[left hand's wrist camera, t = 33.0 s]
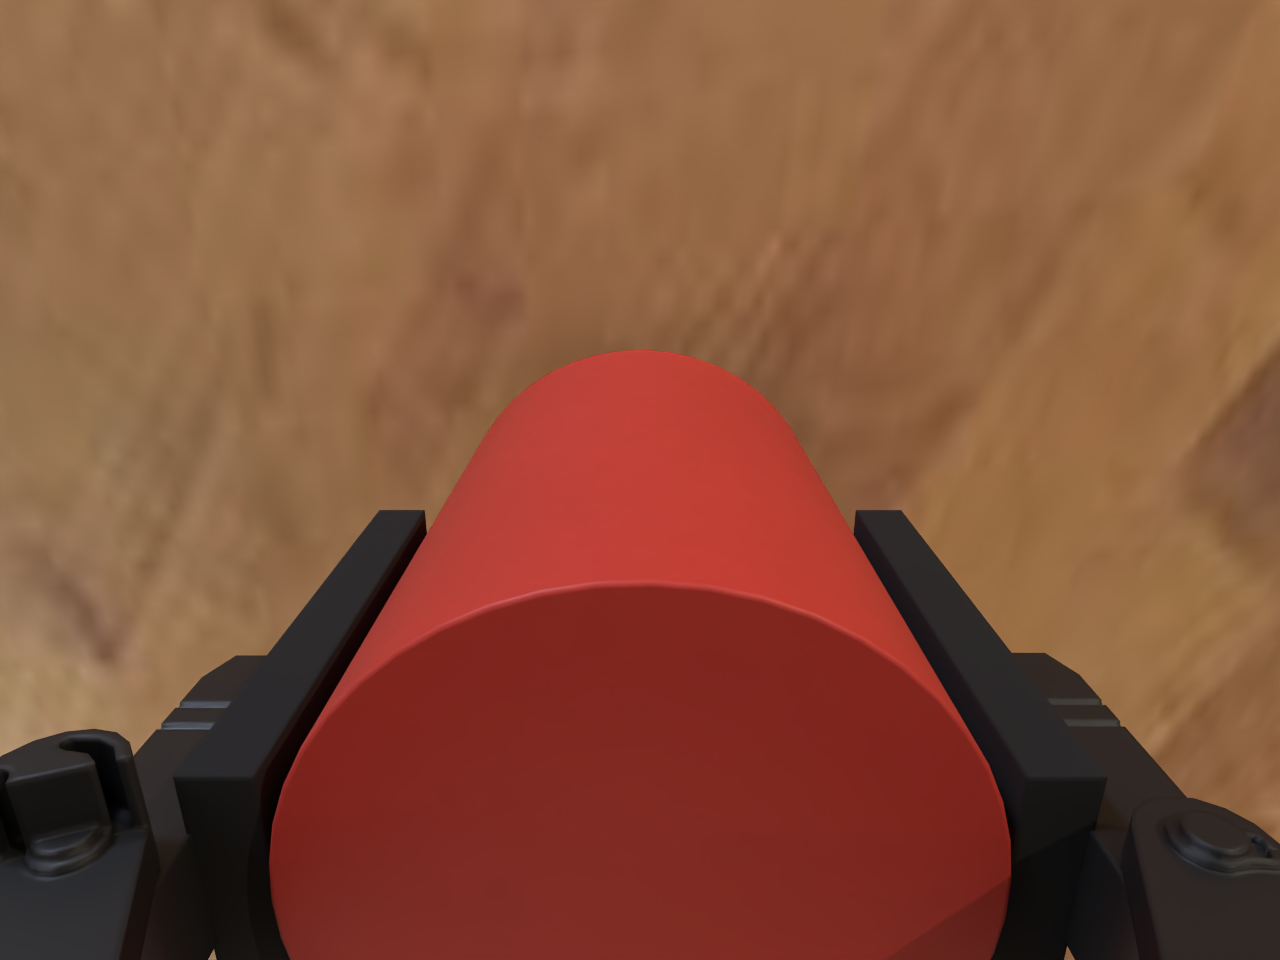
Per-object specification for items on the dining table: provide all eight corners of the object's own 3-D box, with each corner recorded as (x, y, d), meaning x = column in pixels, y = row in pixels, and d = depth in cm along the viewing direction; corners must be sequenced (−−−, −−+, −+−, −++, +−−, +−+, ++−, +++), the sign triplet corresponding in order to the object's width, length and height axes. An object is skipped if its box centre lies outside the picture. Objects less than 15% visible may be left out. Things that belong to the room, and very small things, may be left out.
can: (397, 545, 17) (131, 951, 8) (612, 270, 15) (573, 409, 6) (662, 727, 19) (683, 1234, 10) (888, 499, 17) (1171, 870, 8)
